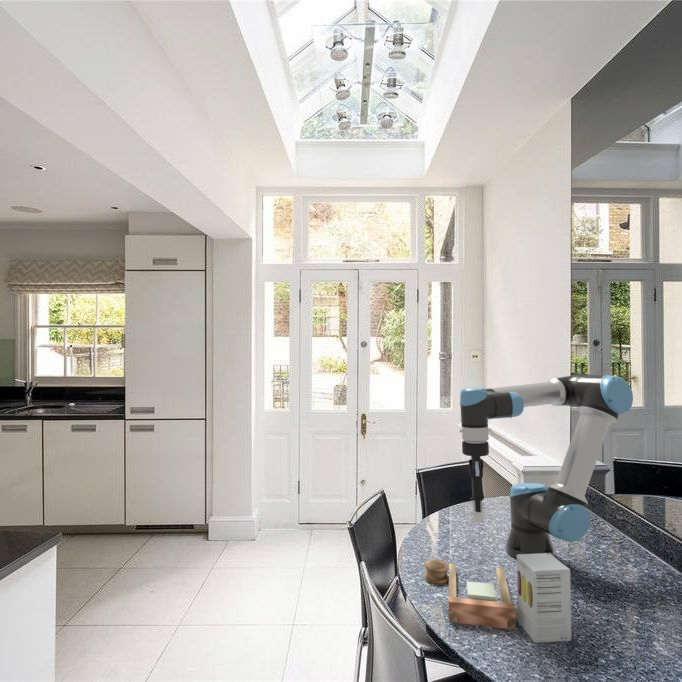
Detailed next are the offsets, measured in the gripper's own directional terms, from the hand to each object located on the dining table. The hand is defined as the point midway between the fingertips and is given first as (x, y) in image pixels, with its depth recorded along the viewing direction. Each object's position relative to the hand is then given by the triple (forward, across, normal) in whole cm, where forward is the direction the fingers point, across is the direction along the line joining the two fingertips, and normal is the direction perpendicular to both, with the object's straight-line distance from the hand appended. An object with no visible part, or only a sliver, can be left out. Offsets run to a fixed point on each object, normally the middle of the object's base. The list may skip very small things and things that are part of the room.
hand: (478, 521), depth 137 cm
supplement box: (+19, +20, +13) cm, 30 cm away
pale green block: (+19, +14, -1) cm, 23 cm away
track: (+18, +7, -1) cm, 20 cm away
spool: (+18, -2, -13) cm, 22 cm away
